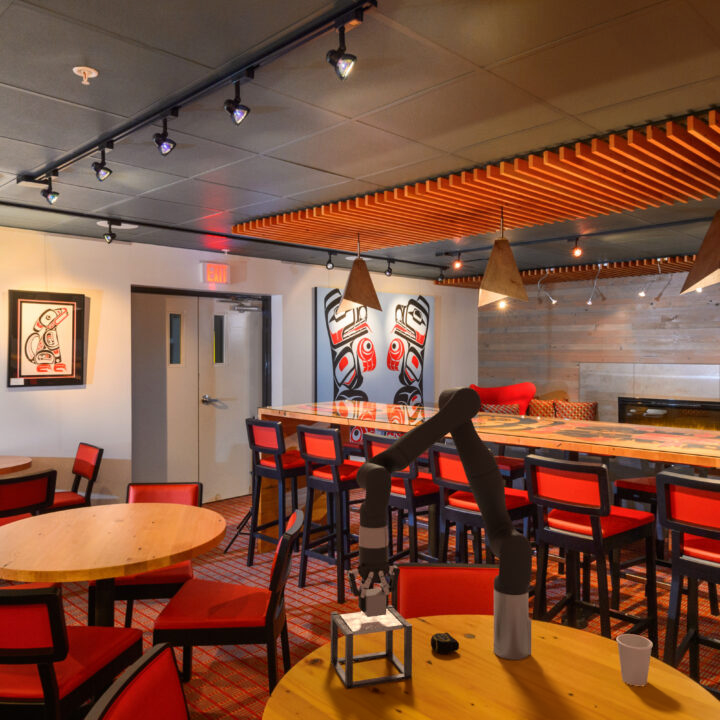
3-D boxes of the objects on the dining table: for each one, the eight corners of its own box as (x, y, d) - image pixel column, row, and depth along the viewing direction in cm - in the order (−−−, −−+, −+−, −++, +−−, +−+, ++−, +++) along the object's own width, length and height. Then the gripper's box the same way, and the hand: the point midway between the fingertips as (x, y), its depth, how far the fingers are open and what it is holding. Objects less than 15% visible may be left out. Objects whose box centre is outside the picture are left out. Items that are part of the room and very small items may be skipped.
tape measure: (460, 654, 172) (460, 640, 172) (437, 657, 170) (437, 643, 170) (449, 643, 178) (449, 630, 178) (426, 646, 176) (426, 633, 176)
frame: (390, 653, 171) (391, 604, 172) (411, 678, 158) (412, 625, 158) (330, 662, 166) (330, 612, 166) (346, 689, 152) (347, 634, 152)
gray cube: (379, 607, 164) (379, 588, 164) (386, 614, 159) (386, 594, 159) (361, 609, 162) (361, 590, 162) (367, 617, 157) (367, 597, 157)
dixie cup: (616, 685, 155) (617, 644, 155) (615, 670, 163) (615, 631, 163) (654, 692, 152) (654, 650, 152) (651, 676, 160) (651, 636, 160)
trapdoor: (385, 611, 170) (385, 607, 170) (402, 628, 159) (402, 624, 159) (338, 617, 166) (339, 613, 166) (352, 635, 155) (352, 631, 155)
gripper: (394, 536, 166) (394, 601, 166) (342, 541, 162) (342, 607, 162) (405, 544, 159) (405, 611, 159) (351, 549, 155) (351, 618, 155)
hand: (373, 609), depth 160 cm, fingers closed on gray cube, 5 cm apart
